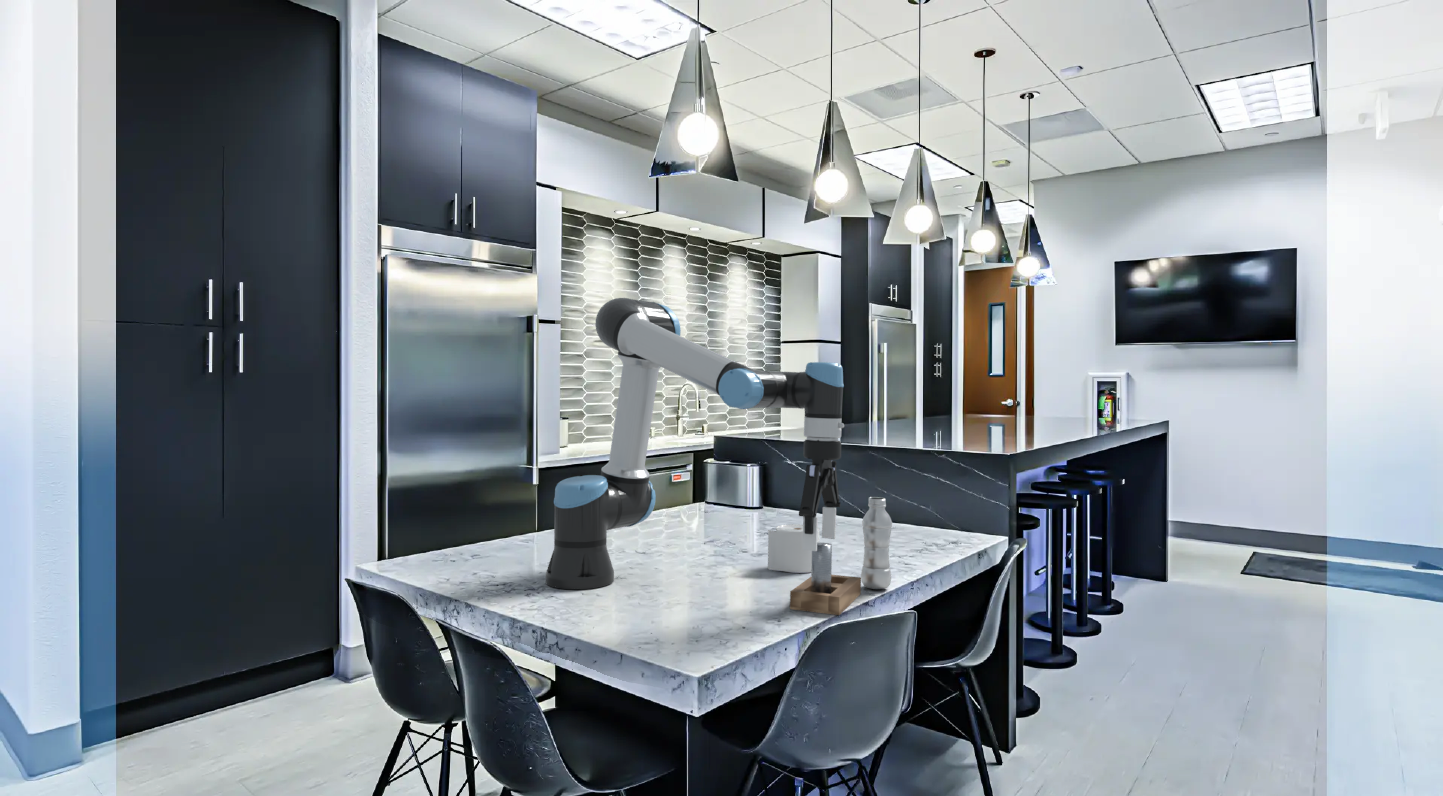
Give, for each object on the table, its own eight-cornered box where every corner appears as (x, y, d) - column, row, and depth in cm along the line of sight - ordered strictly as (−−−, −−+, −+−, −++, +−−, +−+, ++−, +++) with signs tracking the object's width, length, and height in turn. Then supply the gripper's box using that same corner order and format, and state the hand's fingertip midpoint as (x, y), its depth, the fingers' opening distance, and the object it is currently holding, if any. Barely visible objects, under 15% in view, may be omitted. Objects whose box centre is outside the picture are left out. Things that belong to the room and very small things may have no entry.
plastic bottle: (871, 583, 176) (872, 495, 176) (897, 589, 172) (898, 498, 172) (854, 588, 172) (855, 497, 172) (880, 594, 167) (881, 501, 167)
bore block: (790, 609, 155) (790, 591, 155) (815, 588, 171) (816, 572, 171) (839, 615, 151) (839, 597, 151) (860, 593, 167) (860, 577, 167)
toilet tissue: (826, 567, 193) (826, 527, 193) (805, 576, 183) (806, 534, 183) (787, 562, 199) (787, 523, 198) (765, 571, 188) (765, 529, 188)
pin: (808, 605, 156) (809, 545, 156) (814, 600, 159) (815, 541, 159) (827, 607, 154) (828, 546, 154) (833, 602, 158) (834, 543, 158)
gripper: (823, 443, 144) (820, 558, 144) (855, 436, 167) (852, 535, 167) (785, 441, 147) (781, 553, 147) (821, 435, 169) (818, 532, 170)
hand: (819, 544), depth 157 cm, fingers open, 13 cm apart
